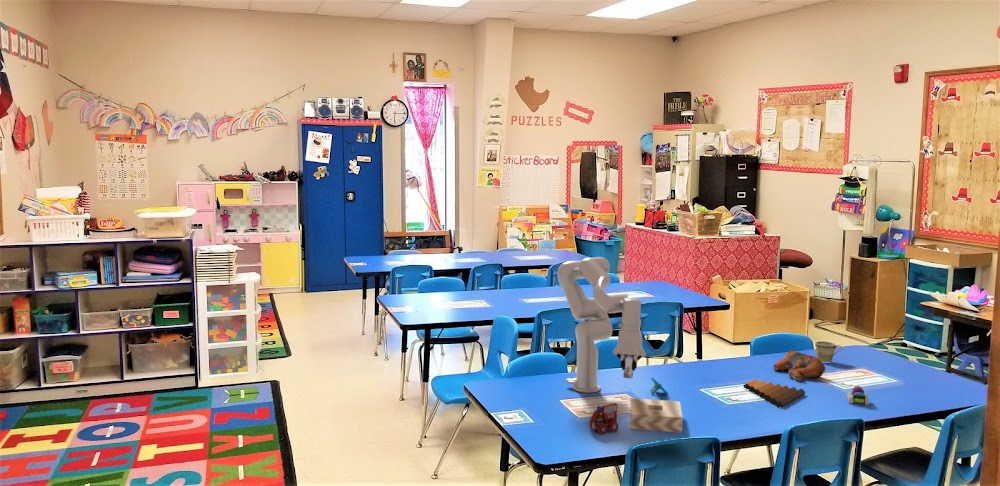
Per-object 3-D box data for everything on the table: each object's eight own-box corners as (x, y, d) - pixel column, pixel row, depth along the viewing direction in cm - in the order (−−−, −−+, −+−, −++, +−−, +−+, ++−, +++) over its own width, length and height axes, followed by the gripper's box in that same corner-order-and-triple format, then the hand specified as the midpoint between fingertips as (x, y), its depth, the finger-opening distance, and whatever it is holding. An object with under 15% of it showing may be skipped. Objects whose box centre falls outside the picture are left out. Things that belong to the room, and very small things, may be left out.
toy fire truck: (584, 430, 299) (585, 404, 298) (611, 425, 305) (612, 399, 304) (595, 436, 293) (595, 409, 292) (621, 431, 299) (622, 405, 298)
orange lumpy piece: (788, 362, 397) (761, 370, 391) (792, 340, 392) (764, 347, 386) (824, 387, 376) (796, 396, 370) (828, 364, 371) (800, 372, 365)
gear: (671, 394, 340) (655, 378, 340) (662, 403, 340) (646, 387, 340) (665, 390, 351) (650, 374, 351) (656, 399, 351) (641, 383, 351)
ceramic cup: (816, 364, 400) (817, 345, 399) (812, 359, 410) (813, 340, 409) (843, 365, 398) (844, 346, 397) (837, 360, 408) (839, 342, 407)
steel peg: (623, 377, 324) (624, 354, 323) (623, 375, 328) (624, 352, 327) (632, 378, 324) (634, 355, 322) (632, 375, 328) (634, 353, 326)
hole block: (629, 428, 301) (630, 413, 301) (630, 412, 321) (630, 398, 320) (681, 432, 298) (682, 417, 297) (679, 415, 317) (679, 401, 317)
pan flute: (783, 409, 329) (805, 396, 347) (783, 401, 329) (805, 389, 347) (728, 396, 346) (752, 385, 364) (728, 389, 345) (752, 378, 364)
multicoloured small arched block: (867, 400, 341) (868, 385, 340) (869, 407, 332) (871, 391, 331) (846, 398, 344) (847, 382, 343) (848, 405, 335) (849, 389, 334)
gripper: (610, 328, 321) (608, 370, 323) (650, 330, 318) (648, 373, 320) (610, 323, 328) (608, 365, 331) (650, 326, 325) (648, 368, 328)
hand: (628, 369), depth 326 cm, fingers closed on steel peg, 4 cm apart
